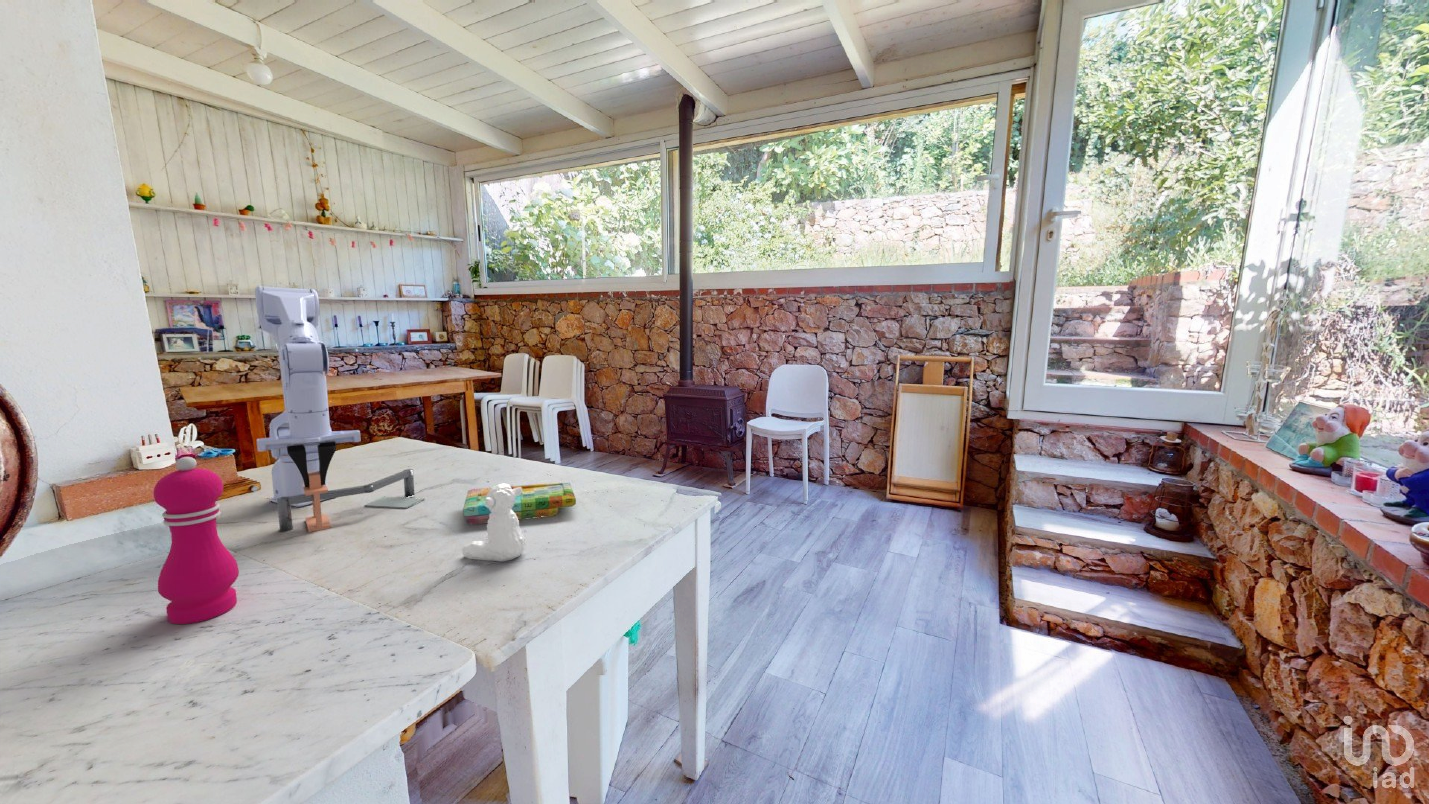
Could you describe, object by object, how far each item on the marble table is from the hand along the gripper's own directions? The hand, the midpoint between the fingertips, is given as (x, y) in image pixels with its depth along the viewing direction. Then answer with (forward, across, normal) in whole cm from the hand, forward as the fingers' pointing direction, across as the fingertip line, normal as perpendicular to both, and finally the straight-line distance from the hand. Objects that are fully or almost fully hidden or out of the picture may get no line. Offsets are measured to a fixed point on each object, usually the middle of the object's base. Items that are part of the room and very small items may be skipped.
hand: (314, 484), depth 94 cm
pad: (+7, +13, +5) cm, 16 cm away
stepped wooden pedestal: (+7, 0, 0) cm, 7 cm away
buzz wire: (+7, +7, +3) cm, 10 cm away
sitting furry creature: (+8, +22, -34) cm, 41 cm away
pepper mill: (+8, -13, -28) cm, 32 cm away
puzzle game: (+8, +32, -16) cm, 36 cm away
